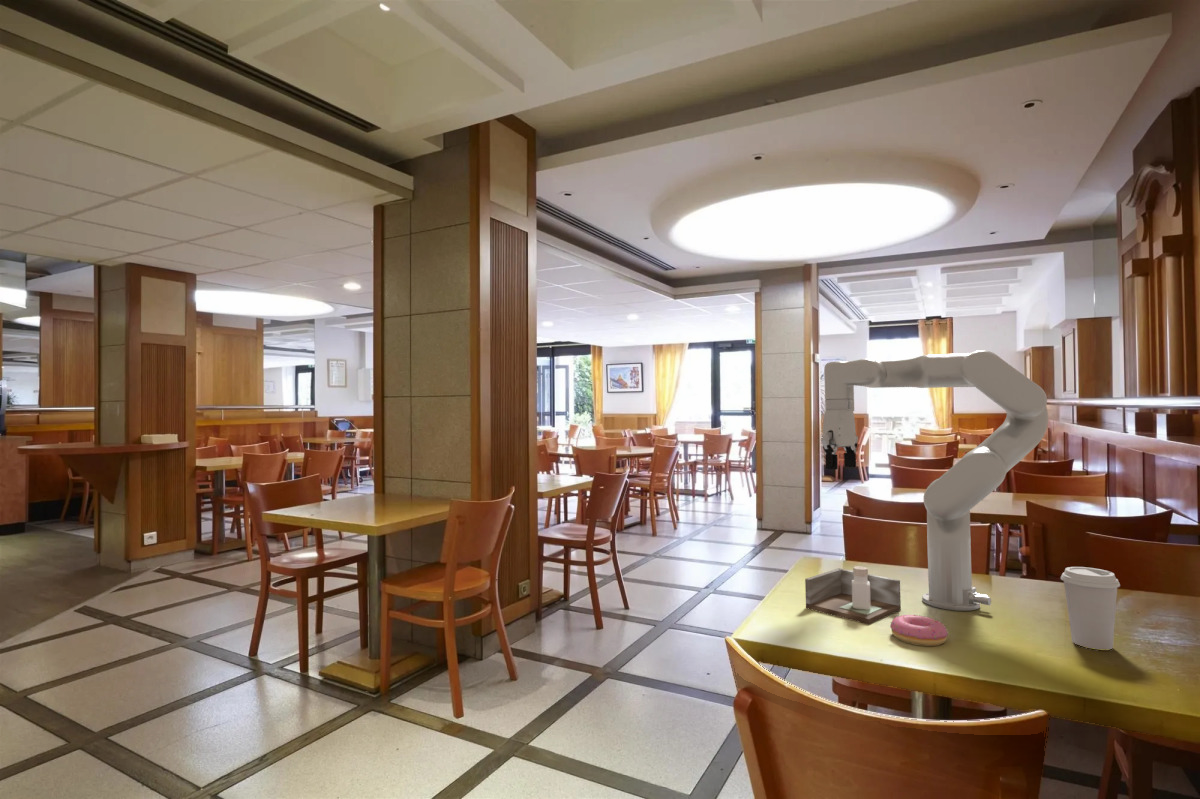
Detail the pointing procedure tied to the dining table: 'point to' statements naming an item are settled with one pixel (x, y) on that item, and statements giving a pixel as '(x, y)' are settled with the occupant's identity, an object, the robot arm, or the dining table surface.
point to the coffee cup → (1091, 605)
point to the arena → (836, 596)
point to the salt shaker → (860, 589)
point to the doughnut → (919, 630)
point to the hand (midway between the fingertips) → (841, 468)
